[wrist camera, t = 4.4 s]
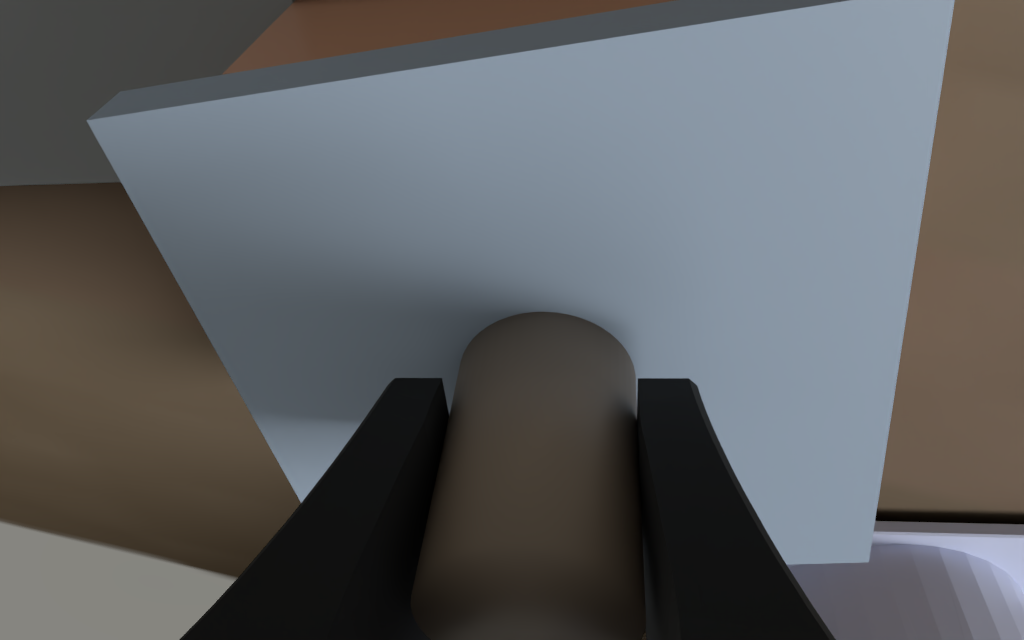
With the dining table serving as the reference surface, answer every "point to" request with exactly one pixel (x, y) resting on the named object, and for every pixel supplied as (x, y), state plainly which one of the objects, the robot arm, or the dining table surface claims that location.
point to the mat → (102, 71)
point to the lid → (564, 270)
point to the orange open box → (398, 24)
